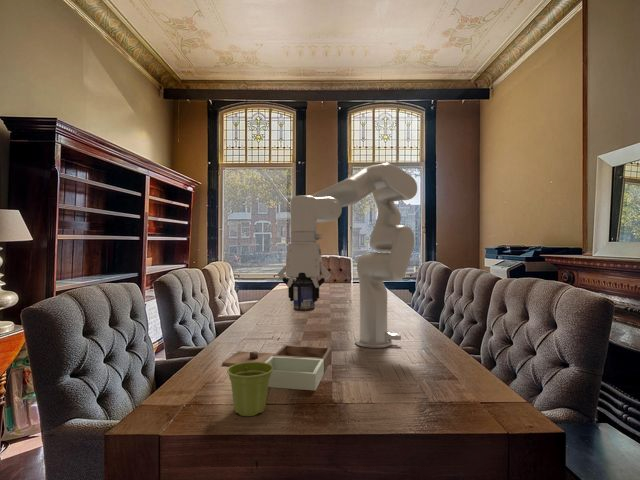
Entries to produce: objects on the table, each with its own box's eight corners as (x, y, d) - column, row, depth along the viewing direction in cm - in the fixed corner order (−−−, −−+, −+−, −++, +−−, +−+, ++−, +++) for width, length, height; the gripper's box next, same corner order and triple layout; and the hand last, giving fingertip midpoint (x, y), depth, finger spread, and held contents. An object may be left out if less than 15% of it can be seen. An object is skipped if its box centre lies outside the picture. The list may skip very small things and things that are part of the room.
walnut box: (331, 359, 113) (331, 347, 113) (324, 372, 101) (324, 358, 101) (284, 356, 115) (284, 345, 115) (272, 368, 104) (272, 356, 104)
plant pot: (230, 401, 82) (230, 361, 82) (273, 400, 83) (273, 360, 83) (222, 421, 73) (223, 376, 73) (271, 420, 73) (272, 375, 74)
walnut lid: (283, 356, 115) (283, 348, 115) (271, 368, 104) (271, 359, 104) (238, 353, 118) (238, 346, 118) (222, 365, 107) (222, 356, 107)
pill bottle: (317, 308, 110) (317, 271, 110) (310, 312, 105) (310, 273, 105) (298, 307, 112) (298, 270, 112) (289, 311, 107) (289, 272, 107)
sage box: (323, 374, 100) (323, 359, 100) (315, 390, 88) (315, 373, 88) (271, 370, 102) (271, 356, 102) (256, 386, 91) (256, 370, 91)
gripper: (335, 238, 111) (335, 299, 111) (278, 238, 114) (278, 298, 114) (331, 238, 103) (331, 303, 103) (271, 238, 107) (271, 302, 106)
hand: (303, 300), depth 108 cm, fingers closed on pill bottle, 6 cm apart
